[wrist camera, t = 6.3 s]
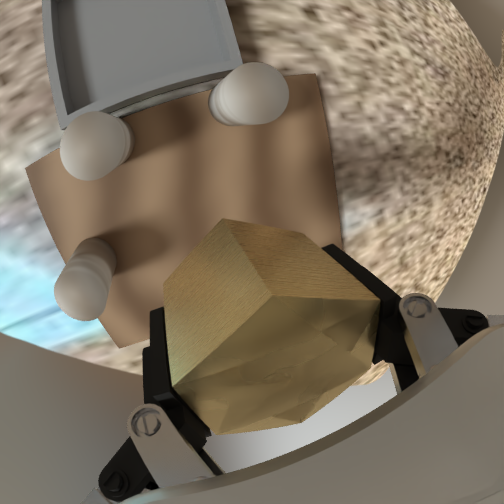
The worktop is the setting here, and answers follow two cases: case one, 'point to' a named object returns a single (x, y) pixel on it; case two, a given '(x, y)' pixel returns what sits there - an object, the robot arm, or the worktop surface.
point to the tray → (132, 50)
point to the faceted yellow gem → (264, 328)
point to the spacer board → (181, 188)
